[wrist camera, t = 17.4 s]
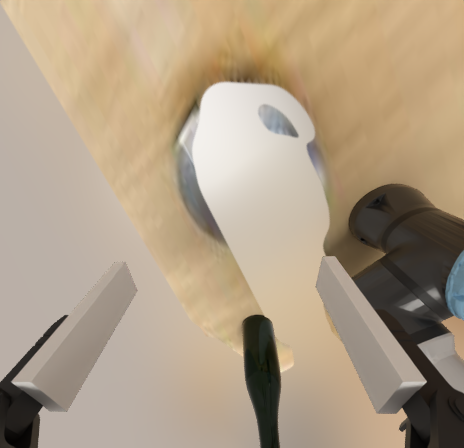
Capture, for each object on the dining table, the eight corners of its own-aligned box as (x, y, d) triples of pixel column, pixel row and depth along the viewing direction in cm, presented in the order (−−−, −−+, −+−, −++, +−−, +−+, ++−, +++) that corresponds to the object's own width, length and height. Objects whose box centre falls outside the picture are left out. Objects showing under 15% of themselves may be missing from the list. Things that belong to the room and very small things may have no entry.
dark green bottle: (236, 324, 65) (235, 485, 36) (257, 309, 61) (276, 477, 32) (257, 336, 68) (272, 493, 40) (278, 323, 65) (313, 487, 36)
